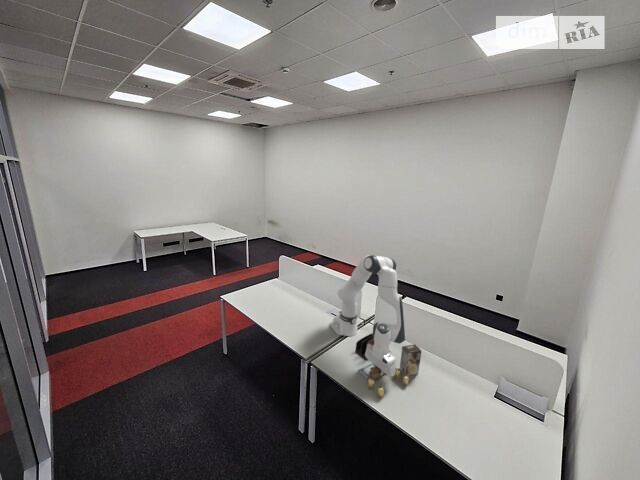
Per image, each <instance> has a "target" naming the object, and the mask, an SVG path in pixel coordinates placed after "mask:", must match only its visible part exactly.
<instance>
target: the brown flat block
mask: <svg viewBox="0 0 640 480" xmlns="http://www.w3.org/2000/svg"><path fill="white" fill-rule="evenodd" d="M373 367H374V366H373ZM370 369H371V368H370ZM380 371H381V369H380V368H378V367H377V366H376V367H374V368H372V369H371V373H370V377H369V378H373V379H374V381H376V380H377V379H378V378H380V377H382V376H383V375H385V374H386V373H384V372H383V375H380V374H379V372H380Z"/></svg>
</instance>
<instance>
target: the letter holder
mask: <svg viewBox="0 0 640 480" xmlns="http://www.w3.org/2000/svg"><path fill="white" fill-rule="evenodd" d="M372 334H373V332H371V333H370V334H367V335H365V336H363V337H362V338H360V339H358V340H357V342H356V343H355V353H356V354H357V355H358V356H360V358H362V359H364V360H365V361H368V360H369V359H367V358H366V356H365V352H366V349H367V344H371V345H372V346H373V345H374V338H373V336H372Z"/></svg>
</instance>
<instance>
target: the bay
mask: <svg viewBox="0 0 640 480" xmlns="http://www.w3.org/2000/svg"><path fill="white" fill-rule="evenodd" d="M370 366H373V363H372V362H371V361H370V362H369V363H368V364H366V365H364V366H363V367H361V368H359V369H358V370H357V371H358V372H359V373H360V374H361V375H362V376H363V378H364V377H365V379H367V380H369V376H367V375H366V373H364V372H363V370H365V369H366V368H369V367H370Z"/></svg>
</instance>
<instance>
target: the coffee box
mask: <svg viewBox="0 0 640 480" xmlns="http://www.w3.org/2000/svg"><path fill="white" fill-rule="evenodd" d="M400 354H401V356H400V362H399V369H400V372H401V373H402V374H403V375H408V376H413V375H418V374H419V371H420V365H421V357H422V350H421V349H420V347H418V345H416V344H410V345H409V344H408V345H403V346H402V347H401V353H400Z"/></svg>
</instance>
